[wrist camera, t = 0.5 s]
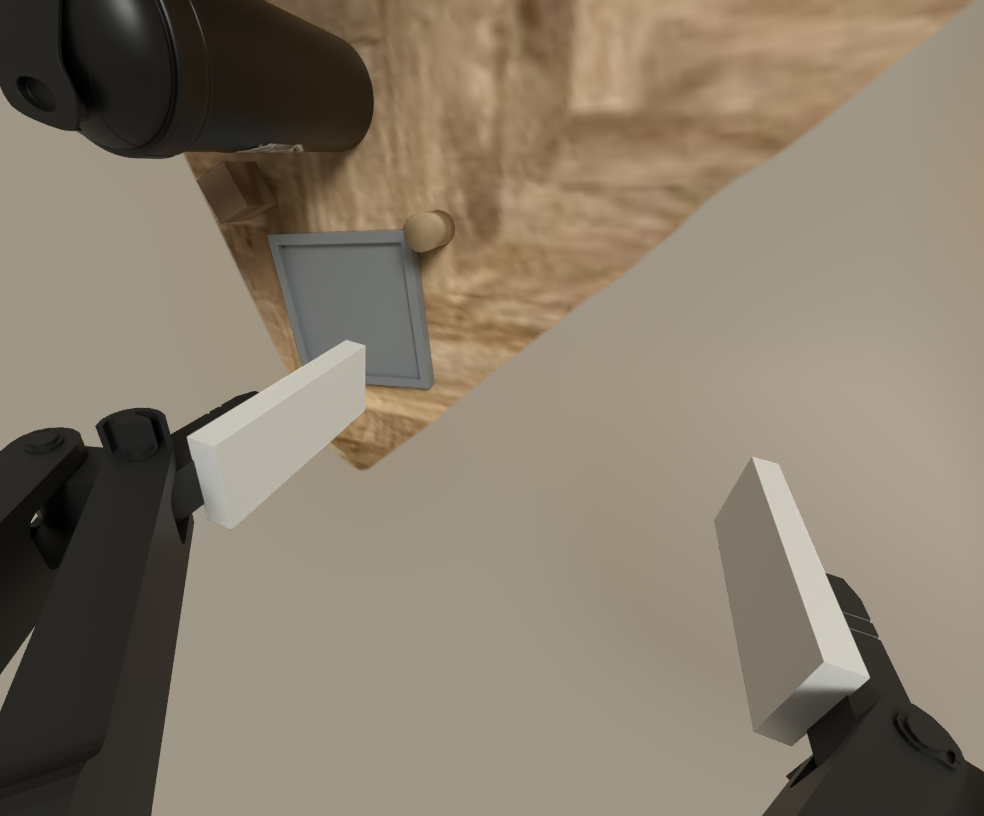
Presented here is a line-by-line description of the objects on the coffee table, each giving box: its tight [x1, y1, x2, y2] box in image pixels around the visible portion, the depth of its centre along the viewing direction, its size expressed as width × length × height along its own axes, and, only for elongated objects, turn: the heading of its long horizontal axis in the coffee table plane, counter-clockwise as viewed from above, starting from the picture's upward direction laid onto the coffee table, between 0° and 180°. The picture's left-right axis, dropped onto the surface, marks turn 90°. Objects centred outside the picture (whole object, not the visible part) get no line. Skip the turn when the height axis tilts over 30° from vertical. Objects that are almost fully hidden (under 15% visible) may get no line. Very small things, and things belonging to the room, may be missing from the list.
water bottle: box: [0, 0, 374, 159], centre depth 29 cm, size 10×10×23 cm
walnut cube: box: [197, 161, 277, 223], centre depth 44 cm, size 4×4×4 cm
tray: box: [267, 229, 435, 389], centre depth 47 cm, size 16×16×1 cm
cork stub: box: [403, 210, 455, 252], centre depth 40 cm, size 3×3×4 cm
